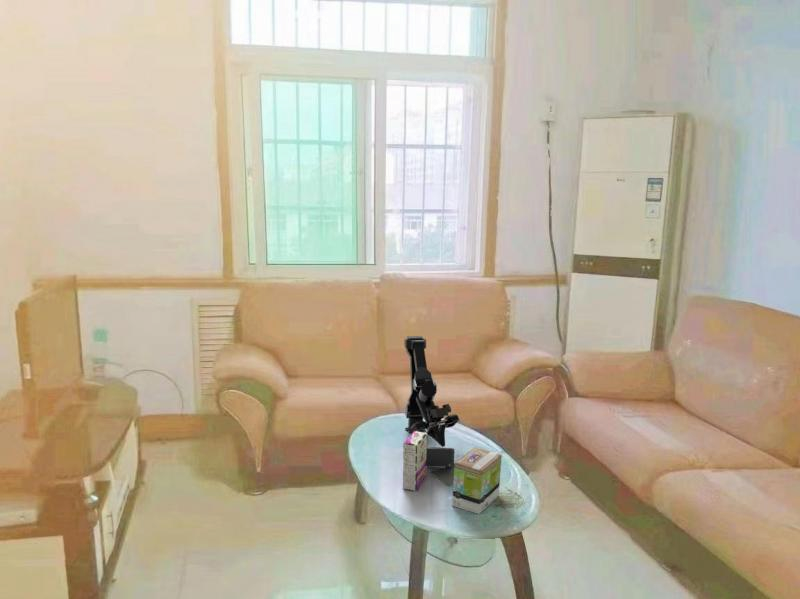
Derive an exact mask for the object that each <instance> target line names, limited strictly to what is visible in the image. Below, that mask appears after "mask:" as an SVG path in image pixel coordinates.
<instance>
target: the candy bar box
mask: <svg viewBox="0 0 800 599" xmlns="http://www.w3.org/2000/svg"><path fill="white" fill-rule="evenodd" d="M427 438H428V435H427V433H426V432H418V431H414V432H413V433H412V434H411V433H410V435H409V436H408V438H407V439H406V440H405V441H403V451H402V452H403V458H402V459H403V462H402V463H403V466H402V467H403V468H402V469H403V470H402V473H403V474H402V475H403V476H402V477H403V478H402V480H403V482H402V483H403V484H402V489H403V490H406V489H407V491H413V492H417V491H418V490H419V488H420V486H421V485H422V484H423V482H424V481H425V480H426V478H427V466H426V456H427V455H426V454H427V447H428V444H427V443H428V442H427V441H428V439H427Z"/></svg>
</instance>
